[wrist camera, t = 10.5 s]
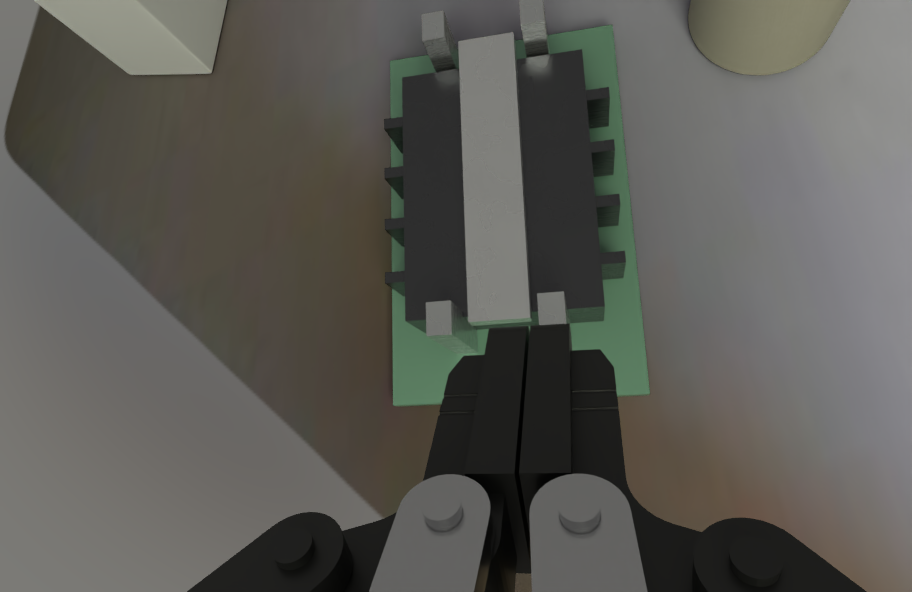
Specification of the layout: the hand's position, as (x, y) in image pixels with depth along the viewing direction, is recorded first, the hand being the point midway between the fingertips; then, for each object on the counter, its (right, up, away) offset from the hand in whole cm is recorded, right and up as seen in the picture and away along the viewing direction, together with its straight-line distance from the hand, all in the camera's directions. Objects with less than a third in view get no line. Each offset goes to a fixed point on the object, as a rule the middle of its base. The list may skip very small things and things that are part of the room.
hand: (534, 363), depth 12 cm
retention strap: (+1, +7, +20) cm, 22 cm away
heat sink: (+1, +7, +24) cm, 25 cm away
